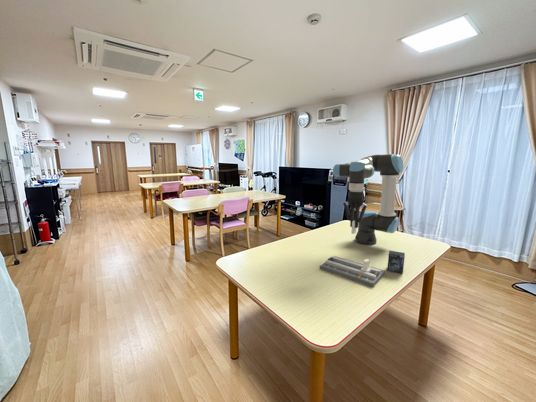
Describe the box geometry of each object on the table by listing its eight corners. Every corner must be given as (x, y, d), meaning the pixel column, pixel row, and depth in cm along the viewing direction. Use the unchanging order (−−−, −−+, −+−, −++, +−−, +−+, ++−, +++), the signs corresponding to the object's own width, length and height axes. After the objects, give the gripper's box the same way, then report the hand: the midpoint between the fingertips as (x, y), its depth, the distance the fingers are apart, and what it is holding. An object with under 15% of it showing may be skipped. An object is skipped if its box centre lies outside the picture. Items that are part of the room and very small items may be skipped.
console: (334, 258, 151) (334, 252, 150) (384, 274, 131) (385, 267, 130) (319, 268, 138) (320, 262, 137) (373, 287, 118) (374, 279, 117)
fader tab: (363, 269, 132) (364, 258, 130) (370, 271, 129) (371, 260, 128) (360, 272, 129) (361, 260, 127) (368, 274, 126) (369, 262, 125)
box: (387, 271, 134) (388, 253, 132) (387, 267, 139) (389, 250, 137) (403, 274, 130) (404, 256, 128) (403, 270, 135) (404, 252, 133)
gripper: (341, 190, 129) (339, 232, 133) (365, 192, 120) (363, 237, 125) (347, 189, 134) (345, 229, 139) (371, 191, 126) (368, 233, 130)
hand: (353, 233), depth 132 cm, fingers closed
